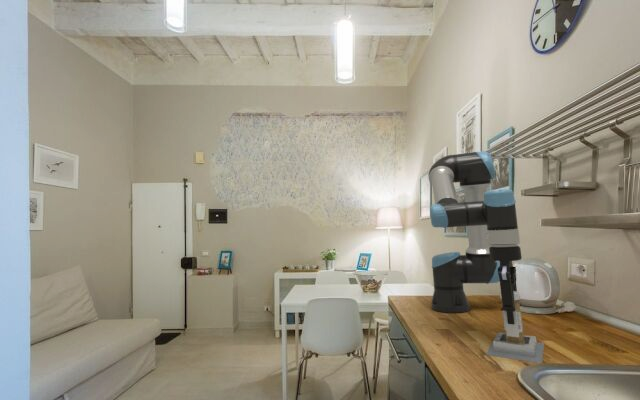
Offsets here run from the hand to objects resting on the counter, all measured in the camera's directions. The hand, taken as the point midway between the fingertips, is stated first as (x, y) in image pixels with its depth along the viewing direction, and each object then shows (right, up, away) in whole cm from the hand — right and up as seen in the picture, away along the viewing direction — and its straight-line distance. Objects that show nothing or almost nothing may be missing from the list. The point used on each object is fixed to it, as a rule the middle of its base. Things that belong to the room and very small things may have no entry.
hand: (514, 333), depth 87 cm
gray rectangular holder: (0, -5, -1) cm, 5 cm away
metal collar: (0, -4, -1) cm, 4 cm away
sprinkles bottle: (0, -3, 0) cm, 3 cm away
